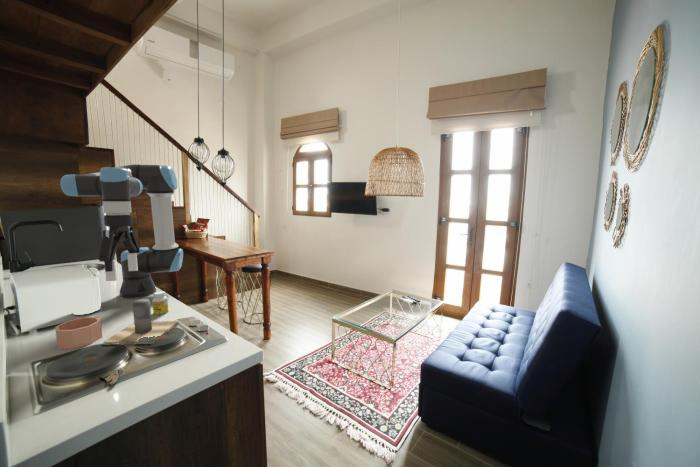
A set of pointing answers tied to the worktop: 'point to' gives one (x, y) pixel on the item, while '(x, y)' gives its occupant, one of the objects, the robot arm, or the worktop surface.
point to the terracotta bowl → (78, 332)
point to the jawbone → (112, 377)
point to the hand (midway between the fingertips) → (123, 275)
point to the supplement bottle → (160, 303)
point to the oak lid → (141, 325)
